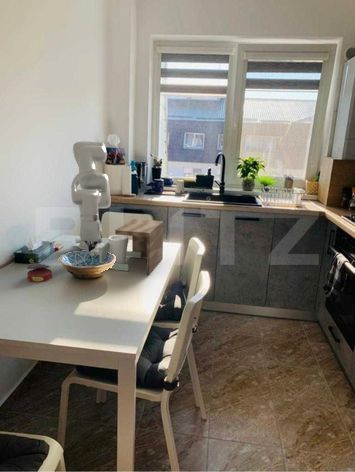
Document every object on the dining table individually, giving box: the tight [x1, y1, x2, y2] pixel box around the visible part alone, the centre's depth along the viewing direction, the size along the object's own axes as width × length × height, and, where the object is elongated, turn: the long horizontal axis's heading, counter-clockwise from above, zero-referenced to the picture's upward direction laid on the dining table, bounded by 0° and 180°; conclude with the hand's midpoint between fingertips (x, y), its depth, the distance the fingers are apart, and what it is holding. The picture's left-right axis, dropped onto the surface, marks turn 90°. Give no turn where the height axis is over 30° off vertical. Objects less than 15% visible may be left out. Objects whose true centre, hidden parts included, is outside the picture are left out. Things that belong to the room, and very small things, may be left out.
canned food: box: [25, 262, 53, 283], centre depth 156 cm, size 11×10×10 cm
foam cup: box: [108, 234, 129, 264], centre depth 176 cm, size 10×9×13 cm
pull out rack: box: [89, 241, 142, 272], centre depth 177 cm, size 20×20×10 cm
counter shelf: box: [114, 218, 164, 276], centre depth 173 cm, size 16×24×20 cm, turn 168°
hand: (92, 253), depth 180 cm, fingers closed
